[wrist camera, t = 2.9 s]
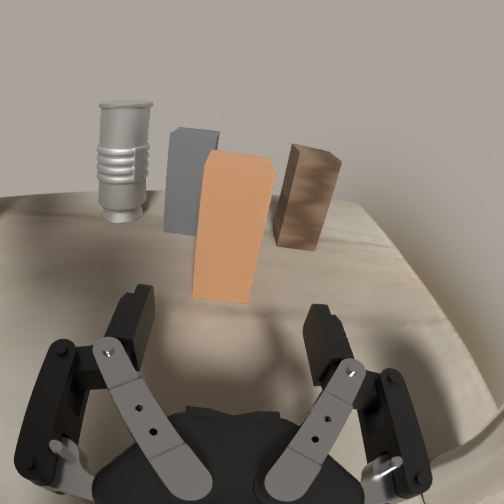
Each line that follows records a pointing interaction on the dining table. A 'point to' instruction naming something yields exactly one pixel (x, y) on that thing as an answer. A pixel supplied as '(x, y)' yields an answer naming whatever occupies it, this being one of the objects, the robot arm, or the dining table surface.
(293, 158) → the walnut block
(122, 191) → the grey ribbed canister
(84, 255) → the dining table surface
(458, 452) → the beer glass
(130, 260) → the dining table surface
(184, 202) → the grey block
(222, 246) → the orange block
